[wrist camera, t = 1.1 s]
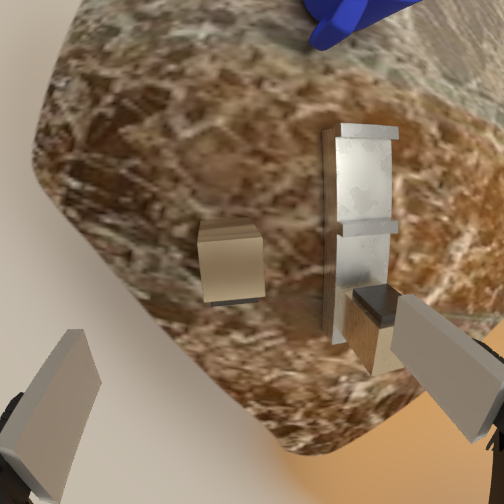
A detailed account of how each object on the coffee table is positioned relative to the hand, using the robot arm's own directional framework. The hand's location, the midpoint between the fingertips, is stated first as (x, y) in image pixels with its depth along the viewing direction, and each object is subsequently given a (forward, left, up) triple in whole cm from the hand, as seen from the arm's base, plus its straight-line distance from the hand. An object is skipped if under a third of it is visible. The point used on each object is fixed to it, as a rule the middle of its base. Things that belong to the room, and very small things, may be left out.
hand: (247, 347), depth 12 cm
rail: (0, +11, -15) cm, 19 cm away
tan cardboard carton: (0, 0, -15) cm, 15 cm away
